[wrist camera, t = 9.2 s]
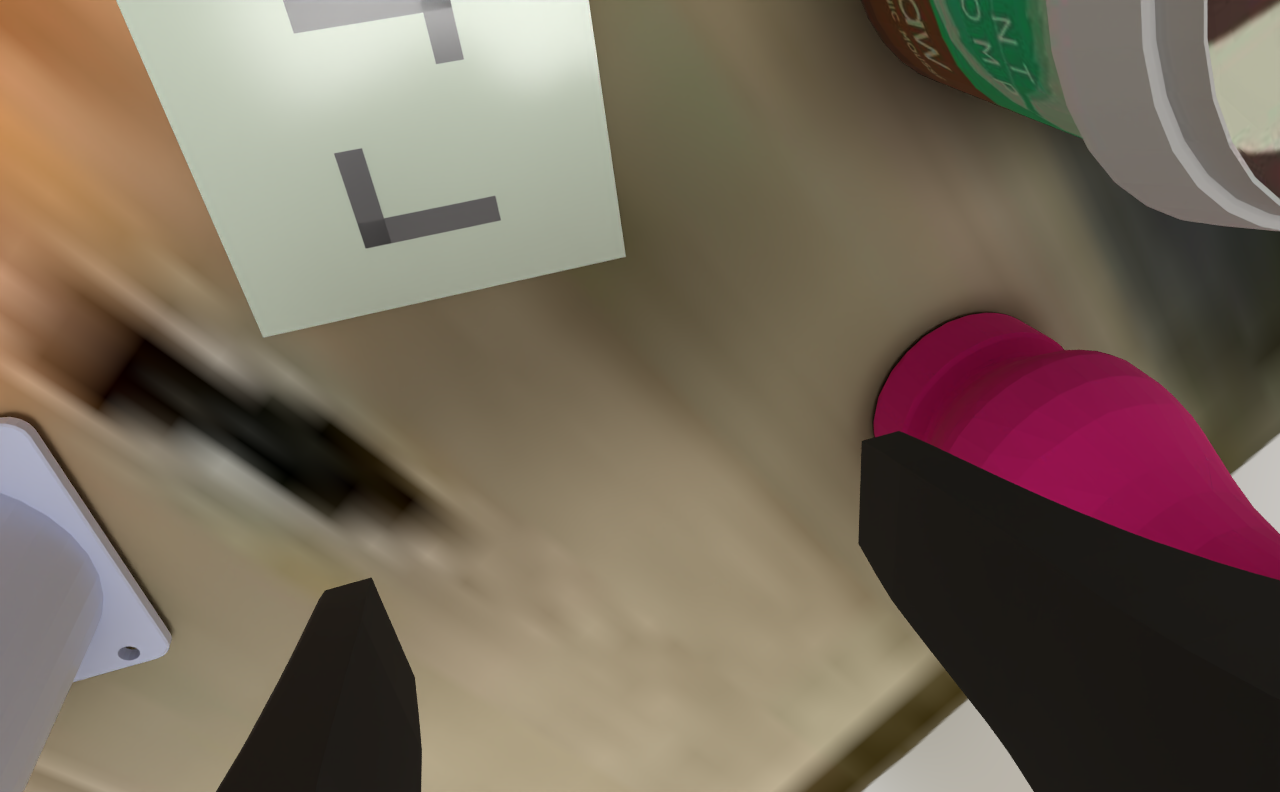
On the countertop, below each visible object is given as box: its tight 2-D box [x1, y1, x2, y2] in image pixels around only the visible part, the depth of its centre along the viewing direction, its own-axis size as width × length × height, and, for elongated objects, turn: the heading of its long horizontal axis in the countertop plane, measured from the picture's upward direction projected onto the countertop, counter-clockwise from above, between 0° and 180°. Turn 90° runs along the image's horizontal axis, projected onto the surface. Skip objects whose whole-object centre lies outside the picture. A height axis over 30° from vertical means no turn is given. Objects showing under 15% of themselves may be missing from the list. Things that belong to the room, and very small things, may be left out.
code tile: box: [116, 0, 626, 338], centre depth 17 cm, size 9×9×1 cm
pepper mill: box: [873, 313, 1280, 580], centre depth 17 cm, size 7×7×20 cm
